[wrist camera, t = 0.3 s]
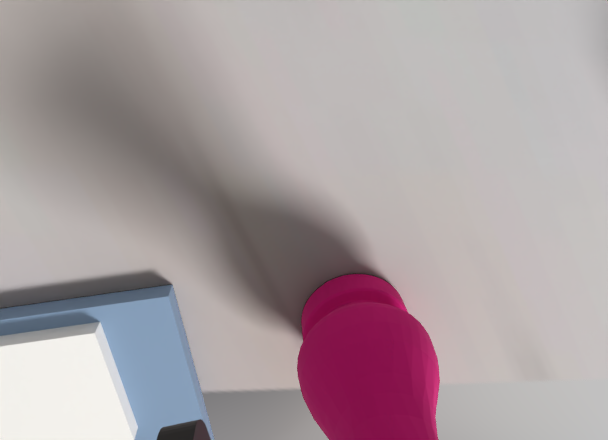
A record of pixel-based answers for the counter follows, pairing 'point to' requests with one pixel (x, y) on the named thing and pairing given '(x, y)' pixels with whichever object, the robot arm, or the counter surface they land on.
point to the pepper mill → (367, 363)
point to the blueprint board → (97, 368)
